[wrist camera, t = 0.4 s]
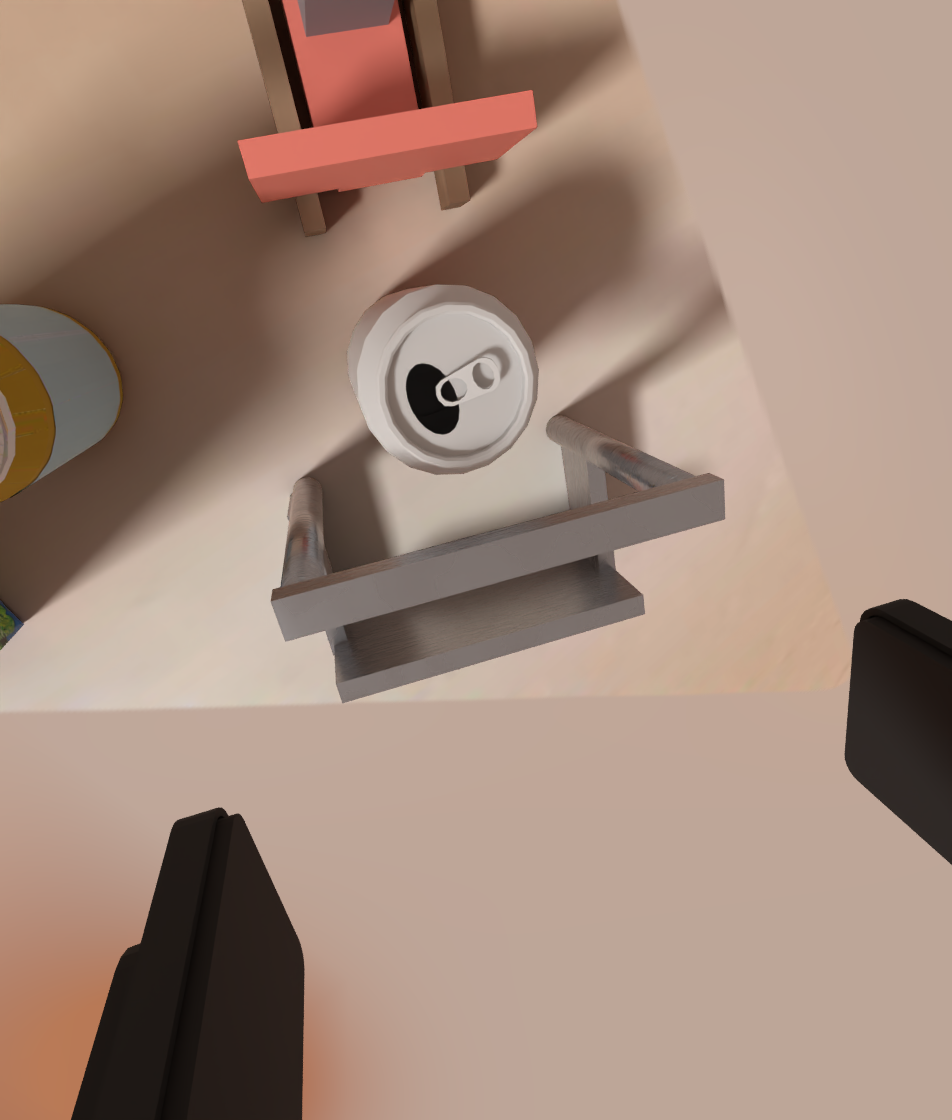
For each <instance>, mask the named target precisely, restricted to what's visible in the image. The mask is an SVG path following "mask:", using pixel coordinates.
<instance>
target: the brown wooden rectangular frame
mask: <svg viewBox="0 0 952 1120" xmlns="http://www.w3.org/2000/svg"><path fill="white" fill-rule="evenodd" d="M242 2H243V5H244V9H245V13H246V17H247V20H248V24H249V28H250V32H251V35H252V39H253V43H254V46H255V50H256V54H257V58H258V61H259V65H260V69H261V72H262V76H263V80H264V84H265V87H266V91H267V95H268V99H269V102H270V106H271V110H272V113H273V117H274V121H275V125H276V128H277V132H278V134H279V133H284V132H290V131H296V130H301V127H300V124H299V120H298V116H297V112H296V108H295V104H294V100H293V96H292V92H291V88H290V84H289V80H288V77H287V73H286V69H285V65H284V61H283V57H282V53H281V49H280V45H279V41H278V37H277V34H276V30H275V26H274V22H273V18H272V14H271V10H270V6H269V2H268V0H242ZM402 2H403V7H404V13H405V18H406V23H407V29H408V34H409V39H410V45H411V50H412V55H413V61H414V66H415V71H416V77H417V82H418V88H419V93H420V98H421V104H422V109H424V108H430V107H435V106H441V105H447V104H453V103H454V100H453V94H452V88H451V83H450V77H449V71H448V65H447V59H446V53H445V47H444V41H443V35H442V30H441V24H440V18H439V12H438V6H437V0H402ZM434 173H435V178H436V184H437V189H438V194H439V200H440V205H441V210H446V209H452V208H457V207H461V206H462V205H464V204H465V203H467V202H468V201H470V195H469V189H468V183H467V177H466V171H465V165H463V166H458V167H452V168H447V169H442V170H436V171H434ZM295 199H296V203H297V206H298V210H299V214H300V218H301V221H302V225H303V229H304V233H305V236H306V237H308V236H313V235H318V234H323V233H326V225H325V221H324V218H323V214H322V210H321V206H320V202H319V198H318V194H317V193H313V194H307V195H302V196H296V197H295Z"/></svg>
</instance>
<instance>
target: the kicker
mask: <svg viewBox="0 0 952 1120" xmlns="http://www.w3.org/2000/svg"><path fill="white" fill-rule="evenodd" d="M280 1H281V5H282V9H283V13H284V17H285V21H286V25H287V29H288V33H289V37H290V41H291V45H292V49H293V53H294V57H295V61H296V65H297V69H298V73H299V77H300V81H301V85H302V89H303V93H304V97H305V101H306V105H307V109H308V113H309V117H310V121H311V125H312V128H308V129H302V130H296V131H290V132H284V133H279V134H273V135H267V136H261V137H255V138H249V139H244V140H238V144H239V148H240V151H241V154H242V158H243V161H244V165H245V168H246V172H247V175H248V178H249V181H250V182H251V184H252V186H253V188H254V190H255V191H256V193H257V195H258V197H259V199H260V200H261V202H262V203H264V202H270V201H275V200H280V199H286V198H291V197H296V196H302V195H307V194H313V193H318V192H323V191H329V190H334V189H338V191H339V192H341V191H347V190H352V189H357V188H363V187H368V186H374V185H379V184H384V183H390V182H395V181H400V180H406V179H411V178H416V177H422V176H423V174H424V173H426V172H431V171H436V170H442V169H447V168H452V167H458V166H463V165H469V164H474V163H479V162H485V161H490V160H495V159H498V158H499V157H501V156H502V155H503V154H504V153H506V152H507V151H508V150H509V149H511V148H512V147H513V146H514V145H516V144H517V143H518V142H519V141H521V140H522V139H523V138H524V137H526V136H527V135H528V134H529V133H531V132H532V131H533V130H534V129H536V128H537V122H536V114H535V106H534V98H533V90H528V91H523V92H517V93H511V94H505V95H499V96H494V97H488V98H482V99H476V100H470V101H465V102H459V103H453V104H447V105H441V106H435V107H430V108H424V109H418V106H417V100H416V95H415V90H414V84H413V79H412V74H411V69H410V63H409V58H408V53H407V47H406V42H405V37H404V32H403V26H402V21H401V16H400V10H399V5H398V0H280Z"/></svg>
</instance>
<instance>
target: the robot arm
mask: <svg viewBox="0 0 952 1120" xmlns="http://www.w3.org/2000/svg"><path fill="white" fill-rule="evenodd" d="M845 761H846V764H847V766H848V768H849V770H850V772H851V773H852V775H853V776H854V777H855V778H856V779H857V780H858V781H859V782H860V783H861V784H862V785H863V786H864V787H865V788H866V789H868V790H869V791H870V792H871V793H872V794H873V795H874V796H875V797H876V798H878V799H879V800H880V801H881V802H882V803H883V804H884V805H885V806H887V807H888V808H889V809H890V810H891V811H892V812H893V813H894V814H895V815H897V816H898V817H899V818H900V819H901V820H902V821H903V822H904V823H906V824H907V825H908V826H909V827H910V828H911V829H912V830H913V831H915V832H916V833H917V834H918V835H919V836H920V837H921V838H922V839H923V840H925V841H926V842H927V843H928V844H929V845H930V846H931V847H932V848H934V849H935V850H936V851H937V852H938V853H939V854H940V855H942V857H944V858H945V859H946V860H947V861H948V862H949V863H950V864H952V621H951V620H949V619H947V618H945V617H943V616H941V615H939V614H937V613H935V612H933V611H931V610H929V609H927V608H925V607H923V606H921V605H919V604H917V603H916V602H913V601H910V600H908V599H899V600H896V601H893V602H890V603H886V604H883V605H880V606H876V607H873V608H870V609H868V610H866V611H864V613H863V614H862V615H861V618H860V622H859V623H857V625H856V626H855V630H854V639H853V651H852V664H851V678H850V691H849V704H848V718H847V730H846V743H845ZM303 1020H304V959H303V953H302V948H301V944H300V942H299V939H298V937H297V935H296V932H295V931H294V928H293V926H292V924H291V921H290V919H289V917H288V915H287V913H286V911H285V908H284V906H283V904H282V902H281V900H280V897H279V895H278V893H277V891H276V889H275V887H274V885H273V882H272V880H271V878H270V876H269V873H268V871H267V869H266V867H265V865H264V863H263V860H262V858H261V856H260V854H259V852H258V850H257V847H256V845H255V843H254V841H253V839H252V836H251V834H250V832H249V830H248V828H247V826H246V824H245V821H244V819H243V818H242V816H241V815H240V814H234V815H231V816H228V814H227V813H226V811H225V810H224V809H223V808H215V809H212V810H209V811H206V812H202V813H199V814H196V815H193V816H190V817H186V818H183V819H179V820H177V821H176V822H175V823H174V825H173V827H172V829H171V833H170V837H169V840H168V844H167V848H166V852H165V855H164V859H163V863H162V866H161V870H160V874H159V877H158V881H157V885H156V888H155V892H154V896H153V900H152V903H151V907H150V911H149V914H148V918H147V922H146V926H145V929H144V933H143V937H142V940H141V943H140V944H137V945H135V946H132V947H130V948H128V949H127V950H126V951H125V953H124V954H123V955H122V956H121V958H120V961H119V963H118V965H117V968H116V970H115V973H114V977H113V980H112V983H111V987H110V990H109V993H108V997H107V1000H106V1003H105V1007H104V1010H103V1014H102V1017H101V1020H100V1024H99V1027H98V1031H97V1034H96V1037H95V1041H94V1044H93V1048H92V1051H91V1054H90V1057H89V1061H88V1064H87V1067H86V1071H85V1074H84V1078H83V1081H82V1084H81V1088H80V1091H79V1095H78V1098H77V1101H76V1105H75V1108H74V1111H73V1115H72V1118H71V1120H302V1086H303V1085H302V1084H303V1026H304V1021H303Z"/></svg>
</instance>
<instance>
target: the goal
mask: <svg viewBox="0 0 952 1120" xmlns="http://www.w3.org/2000/svg"><path fill="white" fill-rule="evenodd" d="M546 433H547V436H548V437H549V438H550V439H551V440H552V441H554V442H556V443H557V444H559V445H561V448H562V455H563V463H564V470H565V477H566V485H567V492H568V499H569V506H570V510H568V511H564V512H561V513H557V514H553V515H549V516H546V517H542V518H538V519H534V520H531V521H527V522H523V523H520V524H516V525H512V526H508V527H505V528H501V529H497V530H493V531H490V532H486V533H482V534H478V535H475V536H471V537H467V538H463V539H460V540H456V541H452V542H448V543H445V544H441V545H437V546H433V547H430V548H426V549H422V550H418V551H415V552H411V553H407V554H403V555H400V556H396V557H392V558H388V559H385V560H381V561H377V562H373V563H370V564H366V565H362V566H358V567H355V568H351V569H347V570H343V571H340V572H336V573H333V570H332V566H331V563H330V560H329V557H328V554H327V550H326V547H325V544H324V536H323V498H322V487H321V485H320V483H319V482H318V481H317V480H315V479H314V478H310V477H304V478H301V479H299V480H298V481H297V482H296V483H295V485H294V488H293V495H290V501H289V509H288V516H287V517H288V520H289V526H288V534H287V542H286V549H285V557H284V565H283V572H282V580H281V587H280V588H276V589H273V590H272V596H271V604H272V606H273V609H274V612H275V615H276V617H277V620H278V623H279V625H280V628H281V631H282V634H283V636H284V639H285V642H286V641H290V640H293V639H297V638H300V637H304V636H308V635H311V634H315V633H318V632H322V631H326V634H327V637H328V640H329V643H330V646H331V649H332V652H333V655H335V673H336V685H337V688H338V691H339V694H340V697H341V700H342V703H345V702H348V701H352V700H355V699H359V698H362V697H365V696H369V695H372V694H376V693H379V692H382V691H386V690H389V689H392V688H396V687H399V686H403V685H406V684H409V683H413V682H416V681H420V680H423V679H426V678H430V677H433V676H437V675H440V674H443V673H447V672H450V671H454V670H457V669H460V668H464V667H467V666H470V665H474V664H477V663H481V662H484V661H487V660H491V659H494V658H498V657H501V656H504V655H508V654H511V653H515V652H518V651H521V650H525V649H528V648H532V647H535V646H538V645H542V644H545V643H548V642H552V641H555V640H559V639H562V638H565V637H569V636H572V635H576V634H579V633H582V632H586V631H589V630H593V629H596V628H599V627H603V626H606V625H610V624H613V623H616V622H620V621H623V620H627V619H630V618H633V617H637V616H640V615H643V614H645V609H644V599H643V594H642V593H640V592H639V591H638V590H637V589H636V588H635V587H634V586H633V585H632V584H630V583H629V582H628V581H627V580H626V579H625V578H624V577H623V576H621V575H620V574H619V573H618V572H617V571H616V568H615V559H614V550H616V549H620V548H624V547H627V546H631V545H634V544H638V543H642V542H645V541H649V540H652V539H656V538H659V537H663V536H667V535H670V534H674V533H677V532H681V531H685V530H688V529H692V528H695V527H699V526H703V525H706V524H710V523H713V522H717V521H721V520H724V519H725V497H724V479H722V478H719V477H717V476H715V475H713V474H710V473H707V474H703V475H699V476H694V475H692V474H690V473H688V472H685V471H683V470H681V469H679V468H677V467H674V466H672V465H670V464H668V463H666V462H664V461H661V460H659V459H657V458H655V457H653V456H650V455H648V454H646V453H644V452H642V451H640V450H637V449H635V448H633V447H631V446H629V445H626V444H624V443H622V442H620V441H618V440H616V439H613V438H611V437H609V436H607V435H605V434H602V433H600V432H598V431H596V430H594V429H592V428H589V427H587V426H585V425H583V424H581V423H578V422H576V421H574V420H572V419H570V418H568V417H565V416H563V415H557V416H554V417H553V418H551V419H550V420H549V422H548V424H547V427H546ZM605 472H607V473H608V474H610V475H612V476H613V477H615V478H617V479H619V480H620V481H622V482H624V483H625V484H627V485H629V486H631V487H632V488H634V489H636V490H637V491H639V492H636V493H632V494H628V495H624V496H621V497H617V498H613V499H609V500H608V496H607V487H606V477H605Z"/></svg>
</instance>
